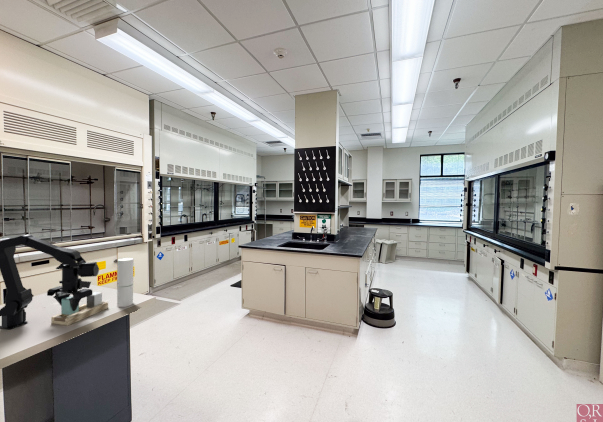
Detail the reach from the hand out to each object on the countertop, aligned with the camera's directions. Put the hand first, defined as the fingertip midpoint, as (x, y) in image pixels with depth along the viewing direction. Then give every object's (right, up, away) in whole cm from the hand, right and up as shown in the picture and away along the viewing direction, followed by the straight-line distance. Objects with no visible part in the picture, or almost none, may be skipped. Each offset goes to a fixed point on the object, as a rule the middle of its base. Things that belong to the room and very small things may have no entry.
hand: (69, 310), depth 119 cm
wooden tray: (+1, -5, +6) cm, 7 cm away
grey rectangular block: (+2, -3, +12) cm, 12 cm away
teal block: (0, -1, 0) cm, 1 cm away
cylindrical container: (+12, -5, +20) cm, 24 cm away
